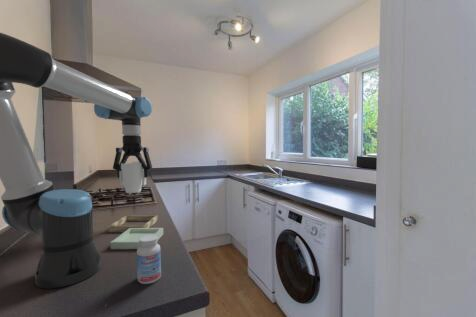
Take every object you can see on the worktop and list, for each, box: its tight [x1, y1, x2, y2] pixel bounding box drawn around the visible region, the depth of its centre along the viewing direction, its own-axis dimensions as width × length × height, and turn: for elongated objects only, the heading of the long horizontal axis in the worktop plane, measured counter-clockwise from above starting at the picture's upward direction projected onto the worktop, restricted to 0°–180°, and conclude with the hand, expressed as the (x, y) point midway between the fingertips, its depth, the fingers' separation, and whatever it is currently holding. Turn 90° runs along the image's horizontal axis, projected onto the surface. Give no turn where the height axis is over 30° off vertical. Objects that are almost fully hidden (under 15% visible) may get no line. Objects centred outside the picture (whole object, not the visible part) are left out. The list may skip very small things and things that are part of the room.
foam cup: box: [121, 162, 144, 194], centre depth 103 cm, size 10×9×13 cm
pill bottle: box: [136, 235, 162, 285], centre depth 62 cm, size 6×6×11 cm
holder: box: [107, 214, 159, 233], centre depth 104 cm, size 16×16×2 cm
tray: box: [109, 227, 164, 250], centre depth 87 cm, size 14×14×2 cm
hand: (133, 184), depth 103 cm, fingers closed on foam cup, 9 cm apart
